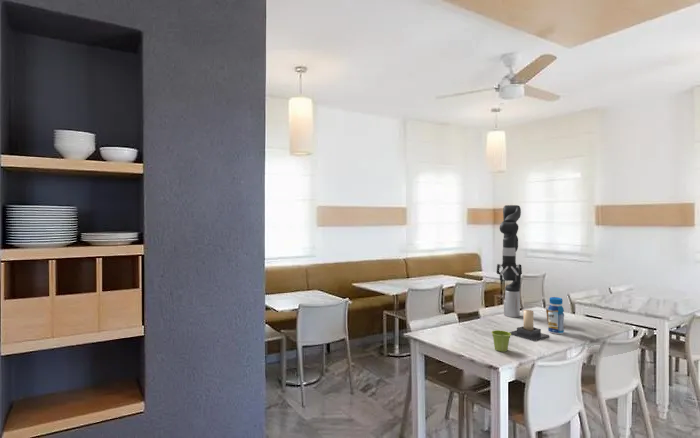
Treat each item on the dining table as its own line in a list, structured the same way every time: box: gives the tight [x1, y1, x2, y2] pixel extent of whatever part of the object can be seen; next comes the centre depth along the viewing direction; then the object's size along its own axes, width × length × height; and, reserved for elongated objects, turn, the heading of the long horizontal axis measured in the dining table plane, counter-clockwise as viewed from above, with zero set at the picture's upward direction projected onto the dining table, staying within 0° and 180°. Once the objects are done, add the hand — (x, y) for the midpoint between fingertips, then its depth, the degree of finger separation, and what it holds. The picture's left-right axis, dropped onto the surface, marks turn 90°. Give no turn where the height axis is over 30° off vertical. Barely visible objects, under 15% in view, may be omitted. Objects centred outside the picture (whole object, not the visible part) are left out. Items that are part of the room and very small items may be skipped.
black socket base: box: [509, 325, 550, 342], centre depth 229 cm, size 16×14×4 cm
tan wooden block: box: [523, 309, 534, 331], centre depth 229 cm, size 5×5×13 cm
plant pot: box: [491, 329, 512, 353], centre depth 205 cm, size 9×9×9 cm
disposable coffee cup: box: [544, 304, 551, 322], centre depth 250 cm, size 10×10×12 cm
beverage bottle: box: [547, 296, 565, 335], centre depth 235 cm, size 8×8×20 cm
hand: (509, 281), depth 247 cm, fingers open, 8 cm apart
